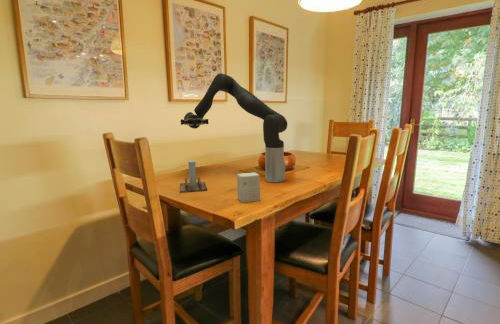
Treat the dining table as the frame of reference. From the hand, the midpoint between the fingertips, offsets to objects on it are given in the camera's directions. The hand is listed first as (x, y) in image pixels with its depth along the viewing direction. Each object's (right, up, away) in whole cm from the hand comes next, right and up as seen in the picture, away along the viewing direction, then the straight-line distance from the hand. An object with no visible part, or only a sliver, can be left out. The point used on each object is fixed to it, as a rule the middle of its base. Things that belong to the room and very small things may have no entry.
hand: (195, 122), depth 146 cm
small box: (+27, -35, -29) cm, 53 cm away
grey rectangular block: (+1, -31, -10) cm, 33 cm away
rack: (+1, -32, -10) cm, 34 cm away
